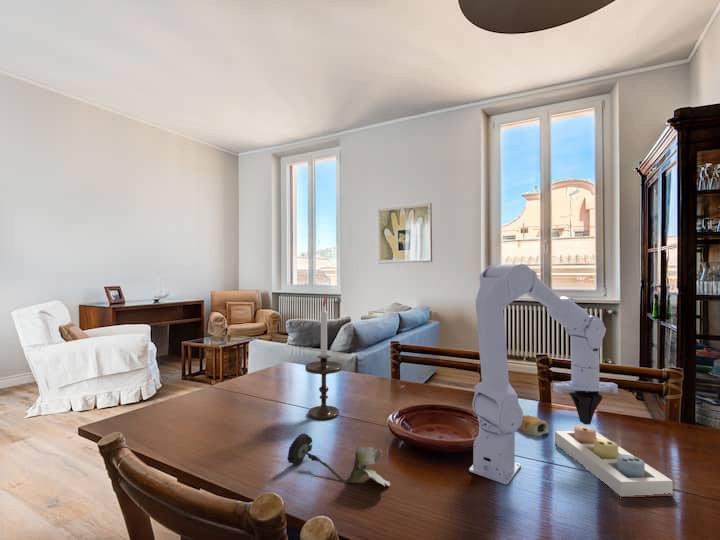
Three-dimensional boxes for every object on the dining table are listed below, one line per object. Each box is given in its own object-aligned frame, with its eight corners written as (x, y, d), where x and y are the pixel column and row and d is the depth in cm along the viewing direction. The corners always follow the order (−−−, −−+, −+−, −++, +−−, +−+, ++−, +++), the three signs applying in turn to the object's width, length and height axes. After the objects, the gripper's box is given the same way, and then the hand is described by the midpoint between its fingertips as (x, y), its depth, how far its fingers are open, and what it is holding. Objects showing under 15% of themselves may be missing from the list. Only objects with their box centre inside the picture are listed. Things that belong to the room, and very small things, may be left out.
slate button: (650, 481, 71) (650, 464, 71) (628, 481, 71) (628, 464, 71) (632, 468, 76) (632, 453, 76) (611, 469, 76) (611, 453, 76)
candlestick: (344, 408, 114) (344, 295, 114) (338, 422, 104) (339, 297, 104) (310, 406, 115) (310, 294, 116) (301, 420, 105) (301, 297, 105)
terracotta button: (600, 446, 85) (600, 432, 85) (581, 446, 85) (581, 432, 85) (587, 437, 90) (588, 424, 90) (570, 438, 90) (570, 425, 90)
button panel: (672, 496, 70) (672, 480, 70) (621, 497, 69) (621, 481, 69) (594, 442, 92) (594, 430, 92) (554, 443, 91) (554, 431, 91)
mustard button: (623, 462, 78) (623, 447, 78) (602, 462, 78) (602, 447, 78) (608, 452, 83) (608, 437, 83) (589, 452, 83) (589, 438, 83)
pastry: (505, 424, 103) (505, 410, 103) (523, 420, 106) (523, 407, 106) (533, 438, 94) (534, 423, 94) (552, 434, 97) (552, 419, 97)
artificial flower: (309, 459, 86) (320, 415, 88) (391, 505, 73) (403, 453, 75) (282, 464, 79) (295, 417, 81) (369, 517, 66) (382, 459, 68)
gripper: (603, 360, 92) (603, 415, 92) (545, 361, 91) (545, 416, 91) (624, 368, 85) (624, 427, 85) (562, 369, 84) (562, 428, 84)
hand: (585, 422), depth 87 cm, fingers closed
